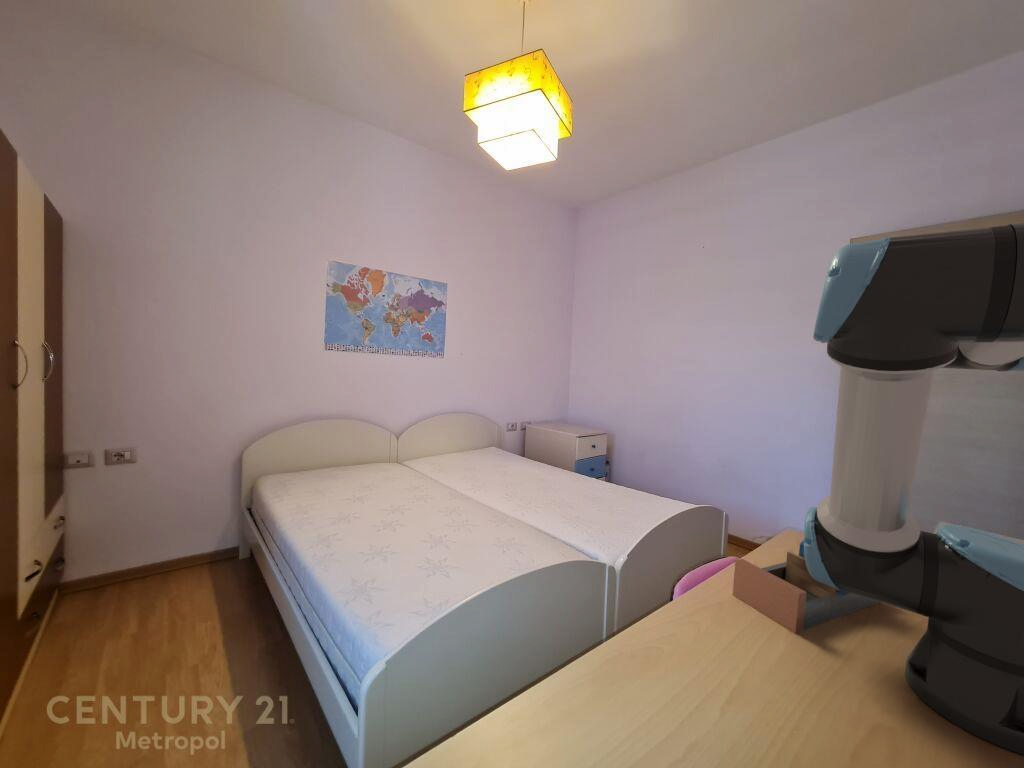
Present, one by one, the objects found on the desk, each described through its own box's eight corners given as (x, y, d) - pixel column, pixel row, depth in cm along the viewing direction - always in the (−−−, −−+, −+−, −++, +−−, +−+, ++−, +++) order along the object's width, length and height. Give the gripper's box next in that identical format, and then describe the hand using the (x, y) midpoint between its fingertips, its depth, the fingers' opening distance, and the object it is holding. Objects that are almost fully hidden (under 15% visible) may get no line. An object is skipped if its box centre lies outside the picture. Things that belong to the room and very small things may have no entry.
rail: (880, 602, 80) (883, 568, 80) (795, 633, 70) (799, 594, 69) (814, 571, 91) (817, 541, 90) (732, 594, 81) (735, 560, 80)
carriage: (869, 592, 81) (872, 563, 81) (833, 605, 76) (836, 574, 76) (820, 570, 89) (823, 543, 89) (784, 580, 84) (787, 551, 84)
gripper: (885, 392, 93) (876, 483, 95) (819, 393, 83) (809, 495, 85) (929, 395, 86) (918, 493, 88) (862, 397, 76) (851, 508, 78)
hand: (864, 494), depth 86 cm, fingers open, 13 cm apart
